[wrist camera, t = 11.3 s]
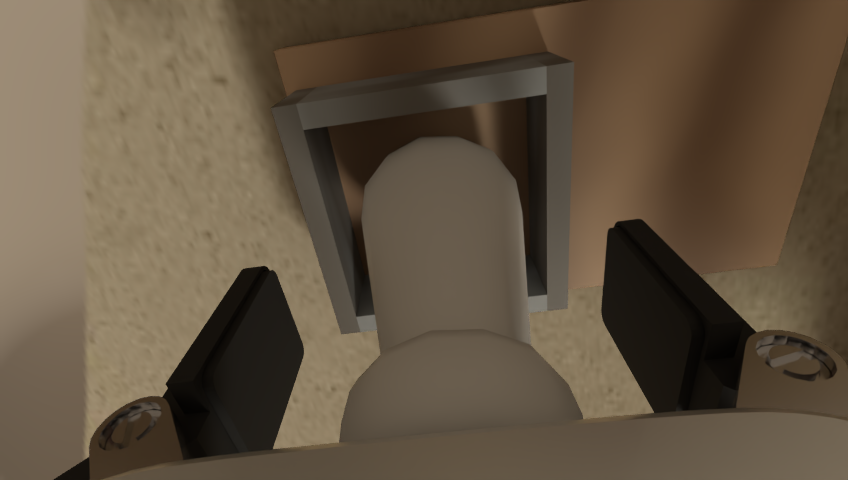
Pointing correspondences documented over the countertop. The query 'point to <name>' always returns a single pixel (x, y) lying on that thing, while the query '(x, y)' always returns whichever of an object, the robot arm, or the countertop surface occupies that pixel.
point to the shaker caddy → (574, 127)
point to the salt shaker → (449, 300)
